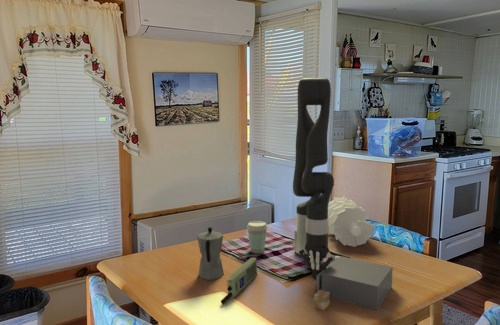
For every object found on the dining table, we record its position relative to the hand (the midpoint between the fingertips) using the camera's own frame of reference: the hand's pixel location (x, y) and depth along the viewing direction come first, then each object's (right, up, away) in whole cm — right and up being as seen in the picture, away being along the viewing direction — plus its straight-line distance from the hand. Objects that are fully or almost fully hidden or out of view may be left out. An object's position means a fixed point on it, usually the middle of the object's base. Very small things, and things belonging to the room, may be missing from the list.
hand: (316, 278), depth 140 cm
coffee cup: (-20, +2, +32) cm, 38 cm away
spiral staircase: (+21, +5, +45) cm, 50 cm away
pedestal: (-1, -4, -14) cm, 15 cm away
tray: (+11, -1, -4) cm, 12 cm away
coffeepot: (-37, -2, +8) cm, 38 cm away
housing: (+13, -3, -5) cm, 14 cm away
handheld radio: (-26, -3, -2) cm, 27 cm away
